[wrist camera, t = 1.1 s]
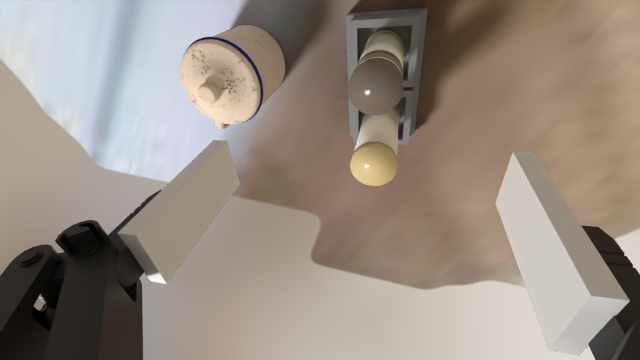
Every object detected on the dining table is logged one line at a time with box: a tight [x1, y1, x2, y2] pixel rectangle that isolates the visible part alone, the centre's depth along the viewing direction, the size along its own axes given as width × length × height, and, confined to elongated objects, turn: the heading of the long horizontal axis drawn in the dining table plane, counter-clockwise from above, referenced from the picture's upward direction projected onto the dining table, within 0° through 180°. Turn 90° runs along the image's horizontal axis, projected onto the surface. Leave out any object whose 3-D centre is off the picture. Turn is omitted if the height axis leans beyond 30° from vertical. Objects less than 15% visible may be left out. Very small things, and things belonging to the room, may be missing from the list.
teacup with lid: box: [180, 25, 285, 129], centre depth 34 cm, size 12×9×12 cm
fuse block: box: [346, 7, 428, 145], centre depth 34 cm, size 14×8×4 cm, turn 5°
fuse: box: [350, 104, 400, 186], centre depth 31 cm, size 4×4×12 cm
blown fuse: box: [348, 29, 404, 115], centre depth 27 cm, size 4×4×12 cm
